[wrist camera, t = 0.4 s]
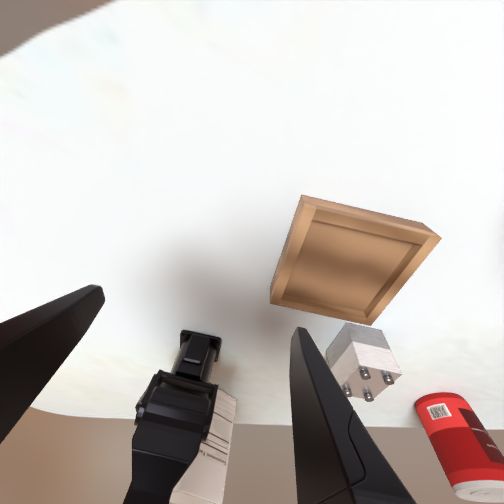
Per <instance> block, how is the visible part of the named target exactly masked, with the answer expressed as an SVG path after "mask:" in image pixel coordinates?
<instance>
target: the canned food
mask: <svg viewBox="0 0 504 504" xmlns="http://www.w3.org/2000/svg"><path fill="white" fill-rule="evenodd" d="M415 406H416V411H417V413H418V416H419V418H420V420H421V422H422V424H423V426H424V429H425V431H426V433H427V435H428V437H429V439H430V442H431V444H432V446H433V448H434V450H435V452H436V455H437V457H438V459H439V461H440V463H441V465H442V468H443V470H444V472H445V474H446V476H447V478H448V480H449V482H450V484H451V487H452V489H453V490H454V492H455V494H456V496H458V497H460V498H462V499H466V500H470V501H476V502H491V503H498V502H504V457H503V456H502V454H501V452H500V451H499V449H498V448H497V446H496V445H495V443H494V442H493V440H492V439H491V437H490V436H489V434H488V432H487V431H486V429H485V428H484V426H483V425H482V423H481V422H480V420H479V419H478V417H477V416H476V414H475V413H474V411H473V410H472V408H471V407H470V405H469V404H468V403H467V402H466V401H465V400H464V399H463V398H462V397H461V396H459V395H457V394H453V393H434V394H429V395H426V396H424V397H421V398H420V399H418V400H417V402H416V404H415Z"/></svg>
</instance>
